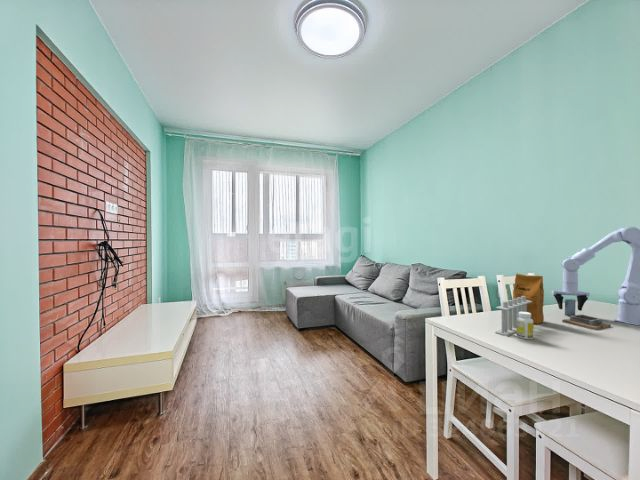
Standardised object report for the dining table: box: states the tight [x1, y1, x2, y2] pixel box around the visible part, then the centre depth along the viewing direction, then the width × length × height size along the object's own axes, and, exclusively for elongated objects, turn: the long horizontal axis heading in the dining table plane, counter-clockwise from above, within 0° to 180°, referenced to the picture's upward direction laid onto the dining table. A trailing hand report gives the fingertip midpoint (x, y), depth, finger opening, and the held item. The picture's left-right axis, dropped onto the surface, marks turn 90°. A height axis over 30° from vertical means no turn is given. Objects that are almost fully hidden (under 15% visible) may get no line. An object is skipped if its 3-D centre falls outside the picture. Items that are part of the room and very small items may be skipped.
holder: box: [561, 313, 612, 331], centre depth 127 cm, size 12×12×3 cm
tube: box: [564, 298, 576, 317], centre depth 141 cm, size 4×4×8 cm
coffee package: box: [512, 272, 545, 325], centre depth 133 cm, size 10×12×22 cm
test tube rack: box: [494, 296, 532, 337], centre depth 121 cm, size 25×4×13 cm, turn 124°
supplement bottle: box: [516, 312, 534, 340], centre depth 112 cm, size 5×5×10 cm
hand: (570, 309), depth 141 cm, fingers open, 7 cm apart
